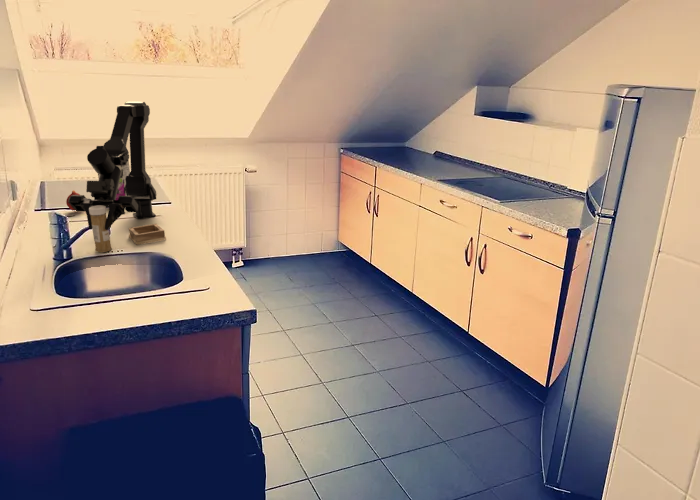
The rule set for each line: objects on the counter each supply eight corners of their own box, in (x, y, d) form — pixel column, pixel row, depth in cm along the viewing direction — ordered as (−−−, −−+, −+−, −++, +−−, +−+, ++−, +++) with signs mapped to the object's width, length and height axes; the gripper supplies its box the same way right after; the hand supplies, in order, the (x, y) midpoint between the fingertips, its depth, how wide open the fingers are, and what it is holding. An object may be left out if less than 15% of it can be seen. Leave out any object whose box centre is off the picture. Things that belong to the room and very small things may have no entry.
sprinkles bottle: (113, 251, 169) (107, 207, 164) (97, 254, 167) (90, 209, 162) (110, 246, 173) (103, 203, 168) (93, 249, 170) (87, 206, 166)
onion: (89, 211, 207) (85, 190, 205) (74, 215, 203) (70, 193, 200) (79, 208, 210) (76, 187, 208) (64, 212, 206) (61, 191, 203)
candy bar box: (100, 201, 220) (94, 159, 214) (108, 198, 225) (103, 156, 219) (126, 203, 218) (121, 161, 212) (134, 200, 222) (128, 158, 217)
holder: (129, 236, 181) (127, 227, 180) (157, 232, 186) (156, 223, 185) (136, 244, 174) (135, 235, 173) (166, 239, 179) (165, 230, 178)
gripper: (65, 168, 165) (53, 215, 159) (129, 168, 165) (119, 216, 158) (82, 187, 175) (71, 233, 169) (142, 188, 175) (133, 234, 169)
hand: (98, 229), depth 166 cm, fingers closed on sprinkles bottle, 4 cm apart
